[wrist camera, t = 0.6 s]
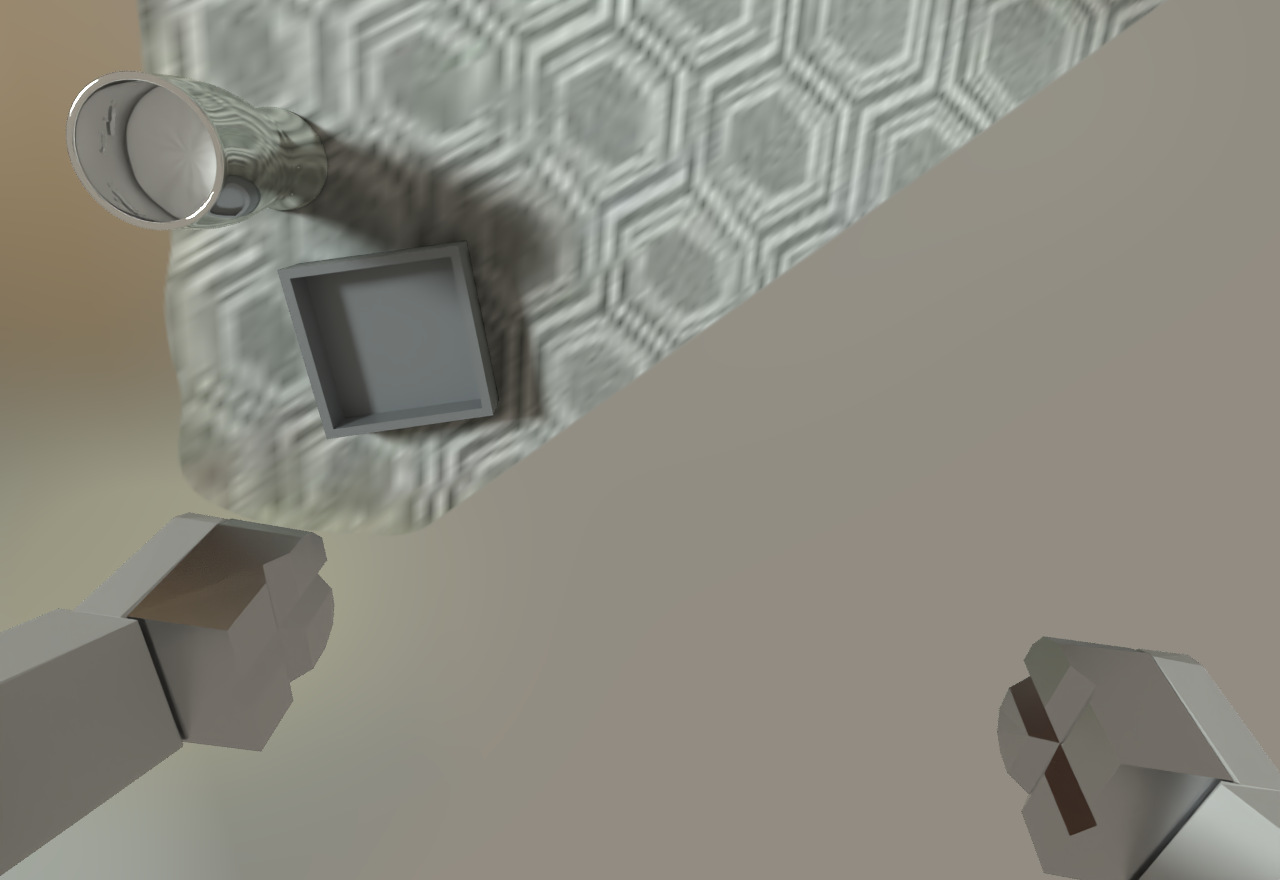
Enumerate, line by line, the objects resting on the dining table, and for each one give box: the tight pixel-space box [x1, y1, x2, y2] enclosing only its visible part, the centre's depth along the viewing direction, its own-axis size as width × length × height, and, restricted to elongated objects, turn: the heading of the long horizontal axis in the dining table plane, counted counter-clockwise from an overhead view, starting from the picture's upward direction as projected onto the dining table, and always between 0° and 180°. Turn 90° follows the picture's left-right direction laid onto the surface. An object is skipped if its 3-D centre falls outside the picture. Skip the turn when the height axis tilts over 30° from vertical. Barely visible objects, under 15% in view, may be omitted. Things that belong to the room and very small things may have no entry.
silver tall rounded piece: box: [66, 71, 327, 230], centre depth 39 cm, size 7×7×15 cm
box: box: [277, 241, 499, 439], centre depth 49 cm, size 11×11×4 cm
